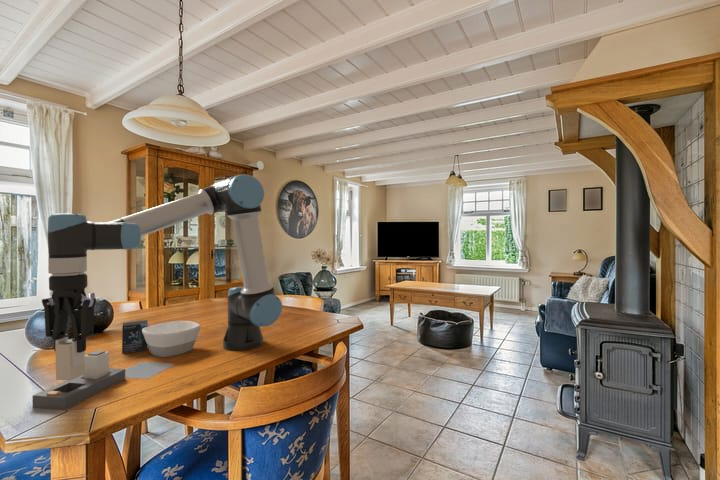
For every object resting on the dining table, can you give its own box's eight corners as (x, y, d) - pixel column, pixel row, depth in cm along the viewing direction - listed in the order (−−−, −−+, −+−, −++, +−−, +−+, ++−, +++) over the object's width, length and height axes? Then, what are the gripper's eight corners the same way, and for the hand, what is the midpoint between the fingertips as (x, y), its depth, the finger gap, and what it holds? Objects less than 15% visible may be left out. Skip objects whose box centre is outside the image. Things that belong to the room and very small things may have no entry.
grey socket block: (125, 380, 100) (125, 367, 100) (64, 412, 82) (64, 395, 82) (98, 379, 101) (98, 365, 101) (32, 409, 83) (32, 393, 83)
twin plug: (84, 373, 90) (84, 338, 89) (70, 380, 86) (69, 343, 86) (71, 373, 90) (70, 338, 90) (56, 379, 86) (55, 342, 86)
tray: (175, 365, 112) (175, 363, 112) (147, 380, 100) (148, 378, 100) (142, 363, 114) (142, 361, 114) (111, 378, 102) (111, 376, 102)
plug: (109, 383, 97) (109, 350, 97) (96, 389, 93) (96, 355, 93) (96, 382, 98) (96, 349, 98) (83, 388, 94) (83, 354, 94)
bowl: (159, 364, 113) (159, 336, 113) (133, 354, 122) (133, 328, 122) (208, 349, 128) (208, 325, 128) (181, 341, 138) (181, 318, 137)
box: (122, 355, 122) (122, 325, 121) (122, 350, 126) (122, 322, 126) (147, 351, 126) (147, 322, 126) (147, 347, 131) (147, 319, 130)
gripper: (110, 272, 90) (112, 360, 91) (54, 271, 92) (56, 357, 93) (84, 276, 83) (86, 371, 83) (23, 275, 85) (25, 368, 85)
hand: (70, 363), depth 88 cm, fingers closed on twin plug, 4 cm apart
